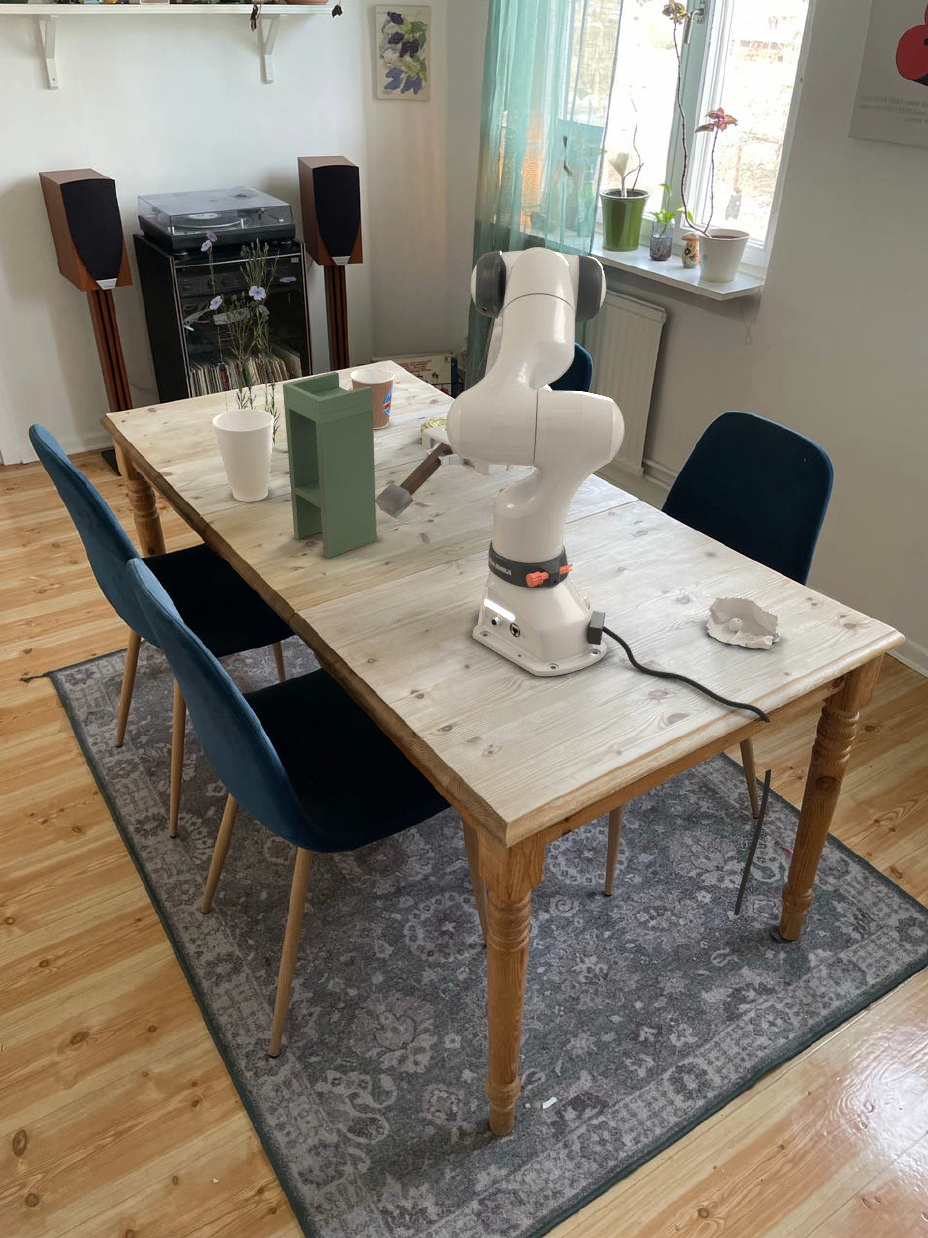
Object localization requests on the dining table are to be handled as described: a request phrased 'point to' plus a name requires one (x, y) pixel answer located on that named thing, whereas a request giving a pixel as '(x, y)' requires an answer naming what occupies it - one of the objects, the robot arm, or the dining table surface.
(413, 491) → the mallet
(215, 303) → the wildflower
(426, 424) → the decorated donut
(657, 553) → the dining table surface
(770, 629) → the jagged white shell
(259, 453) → the cup
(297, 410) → the stand
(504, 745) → the dining table surface
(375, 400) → the coffee cup
